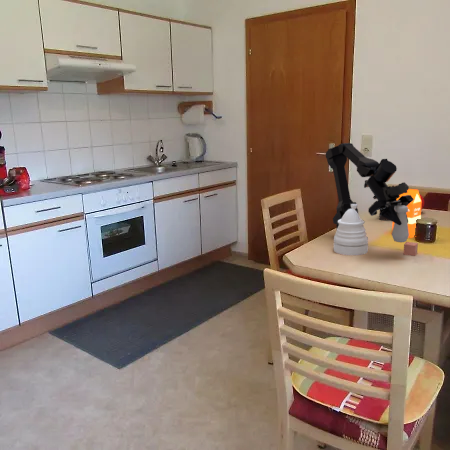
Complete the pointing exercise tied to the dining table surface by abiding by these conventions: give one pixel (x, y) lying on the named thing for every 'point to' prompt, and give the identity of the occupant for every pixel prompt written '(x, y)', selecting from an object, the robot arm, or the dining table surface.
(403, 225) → the salt shaker
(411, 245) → the cube
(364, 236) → the honey pot
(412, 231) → the orange juice
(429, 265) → the dining table surface
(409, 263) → the dining table surface
